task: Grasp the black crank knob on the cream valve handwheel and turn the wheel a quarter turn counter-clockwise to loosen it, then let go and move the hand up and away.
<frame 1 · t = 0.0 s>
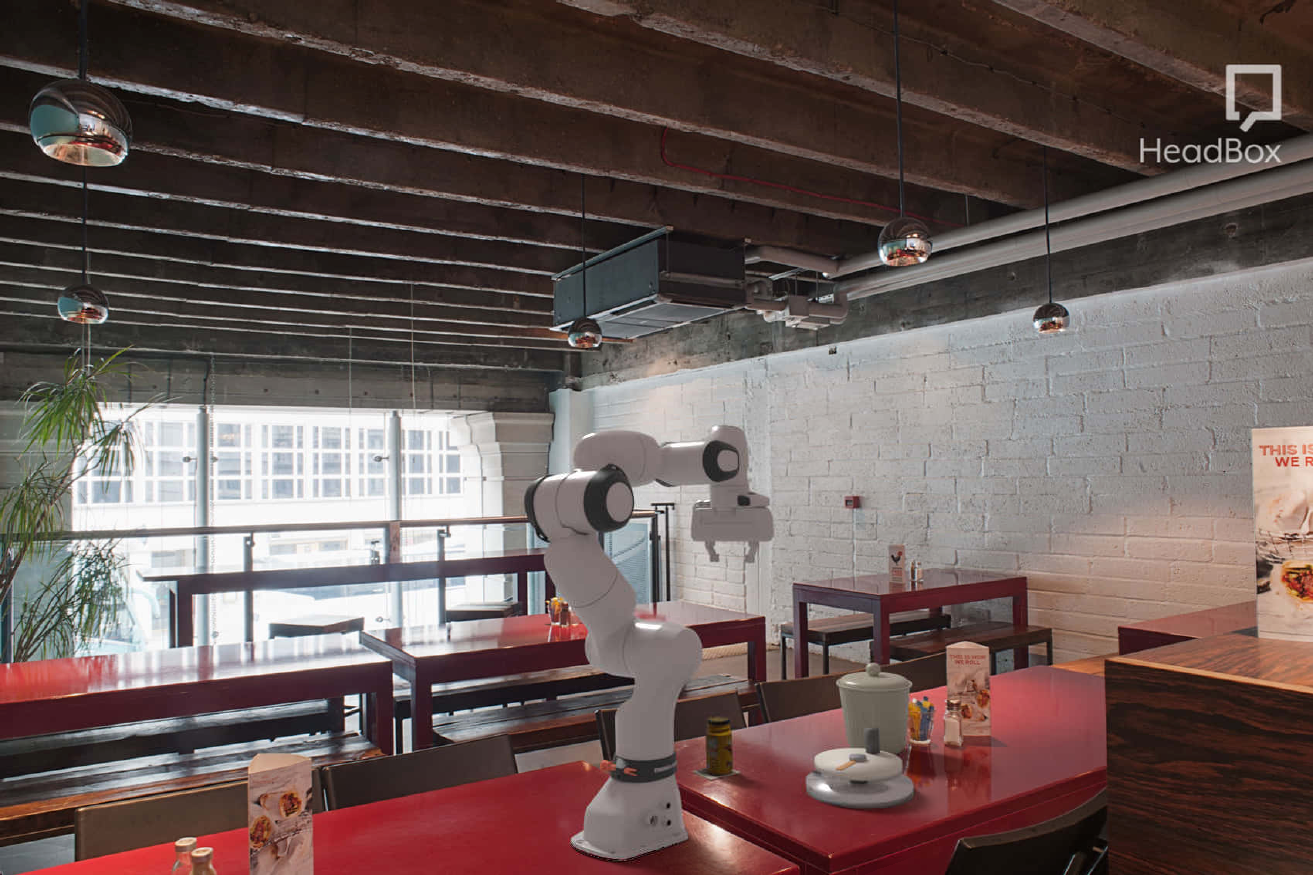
hand: (731, 562, 192), 48 cm above the table, tool pointing down, fingers open, 8 cm apart
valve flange: (859, 790, 184), on the table
condiment: (716, 773, 199), on the table
handwheel: (857, 751, 185), point 8 cm above the table, hinge at 0.0°
canister: (876, 752, 213), on the table
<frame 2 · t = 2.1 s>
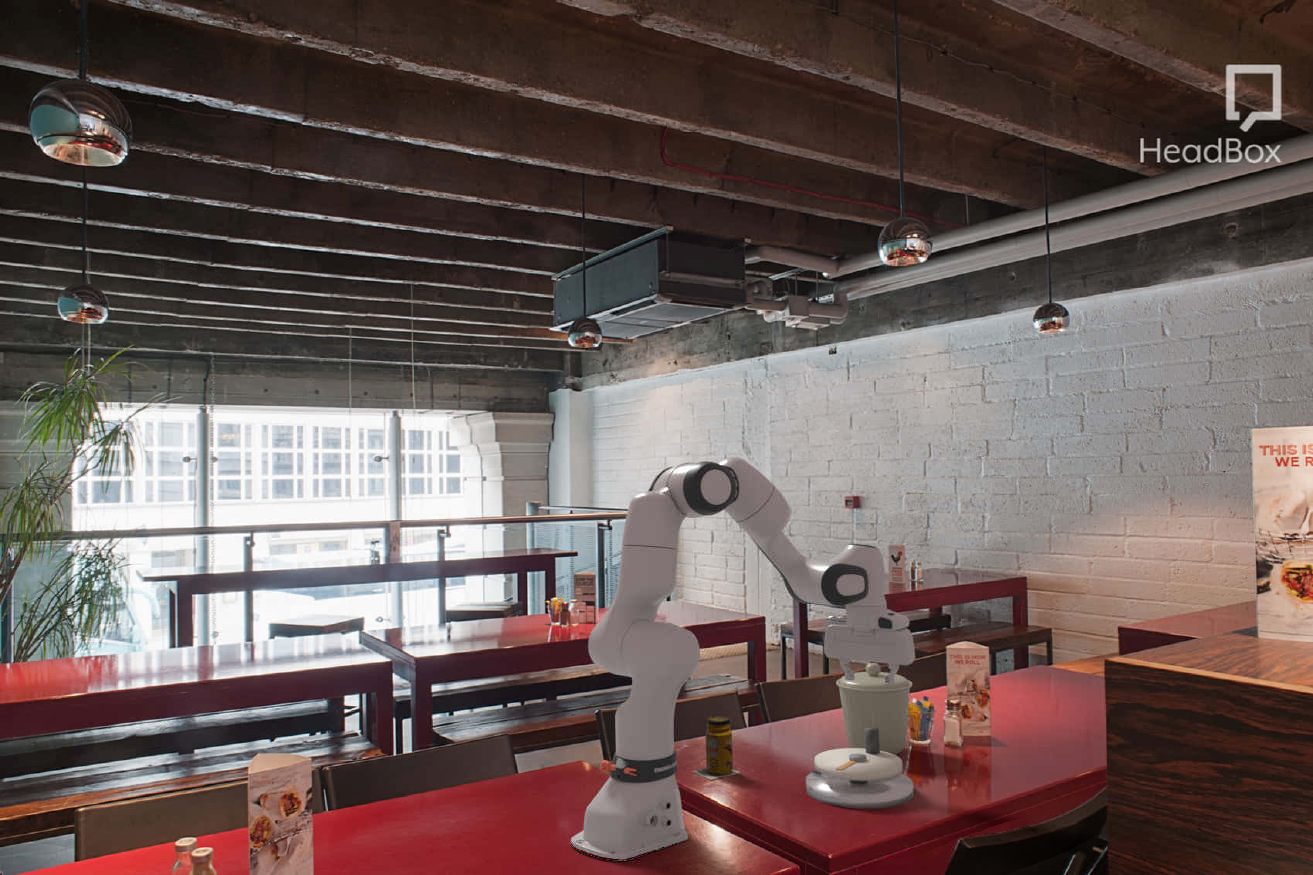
hand: (869, 681, 191), 21 cm above the table, tool pointing down, fingers open, 8 cm apart
nothing on the table moved.
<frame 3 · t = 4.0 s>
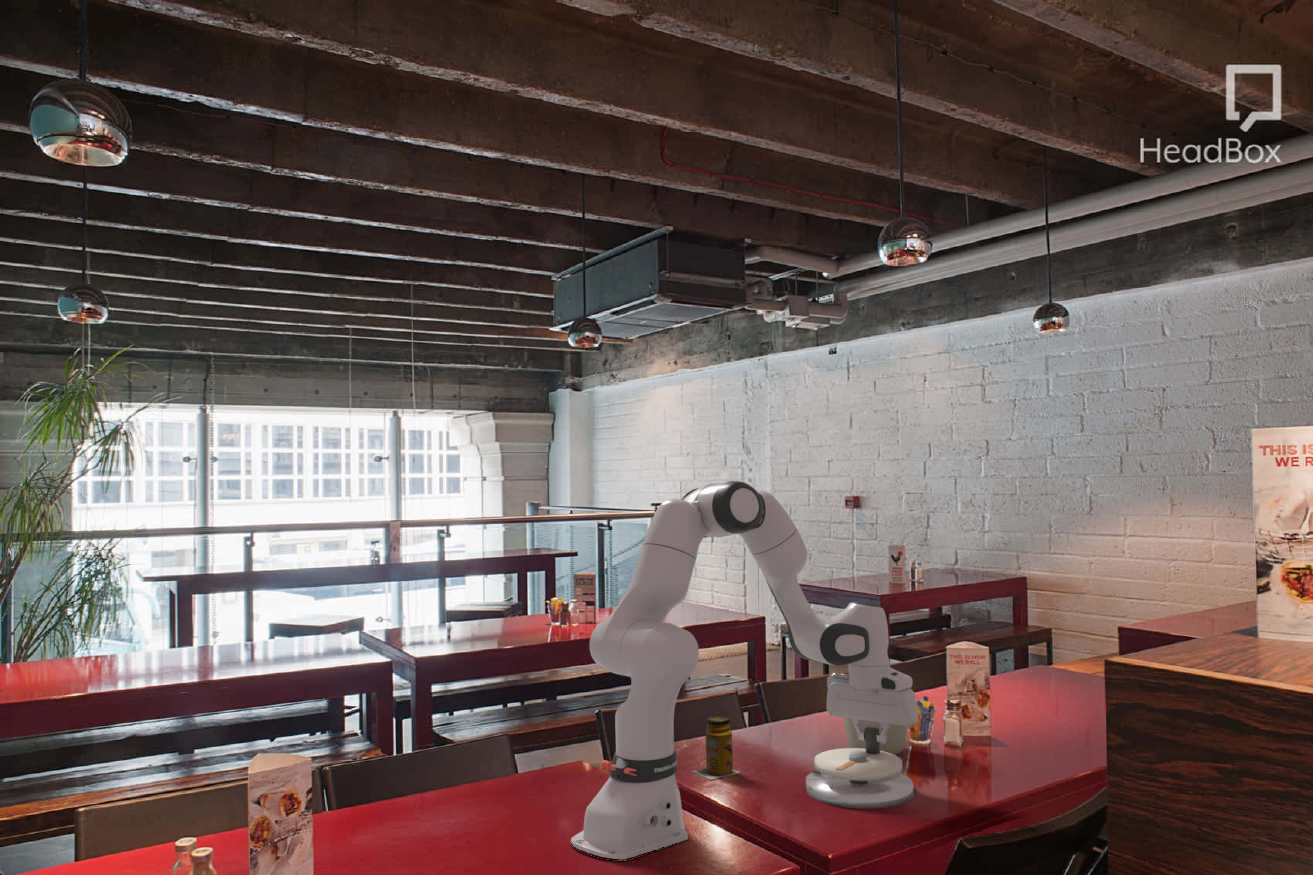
hand: (872, 741, 190), 9 cm above the table, tool pointing down, fingers closed on handwheel, 3 cm apart
handwheel: (857, 751, 185), point 8 cm above the table, hinge at 0.0°, touching gripper
everything else where it was.
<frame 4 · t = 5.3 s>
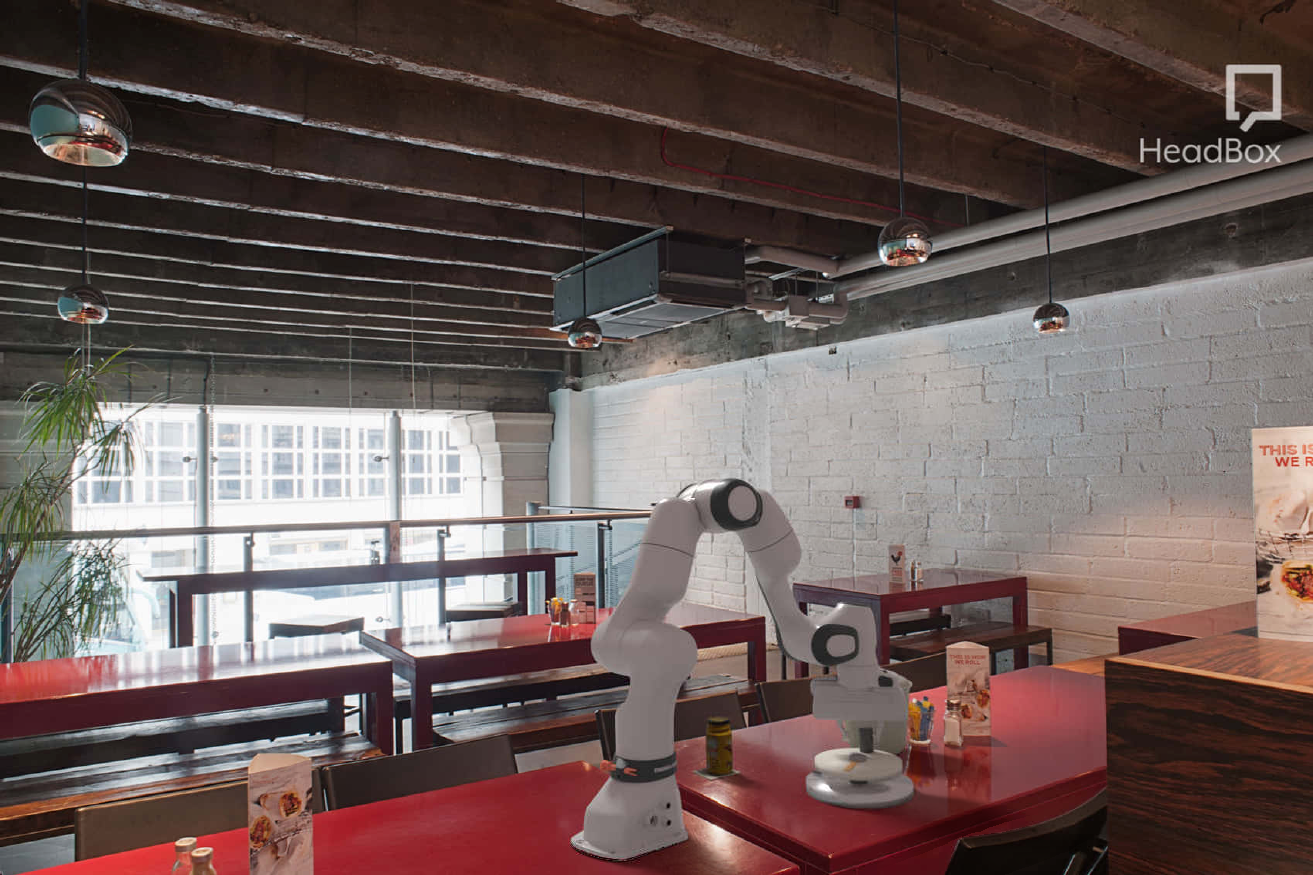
hand: (861, 740, 191), 9 cm above the table, tool pointing down, fingers open, 5 cm apart
handwheel: (857, 751, 185), point 8 cm above the table, hinge at 11.4°, touching gripper
everything else where it was.
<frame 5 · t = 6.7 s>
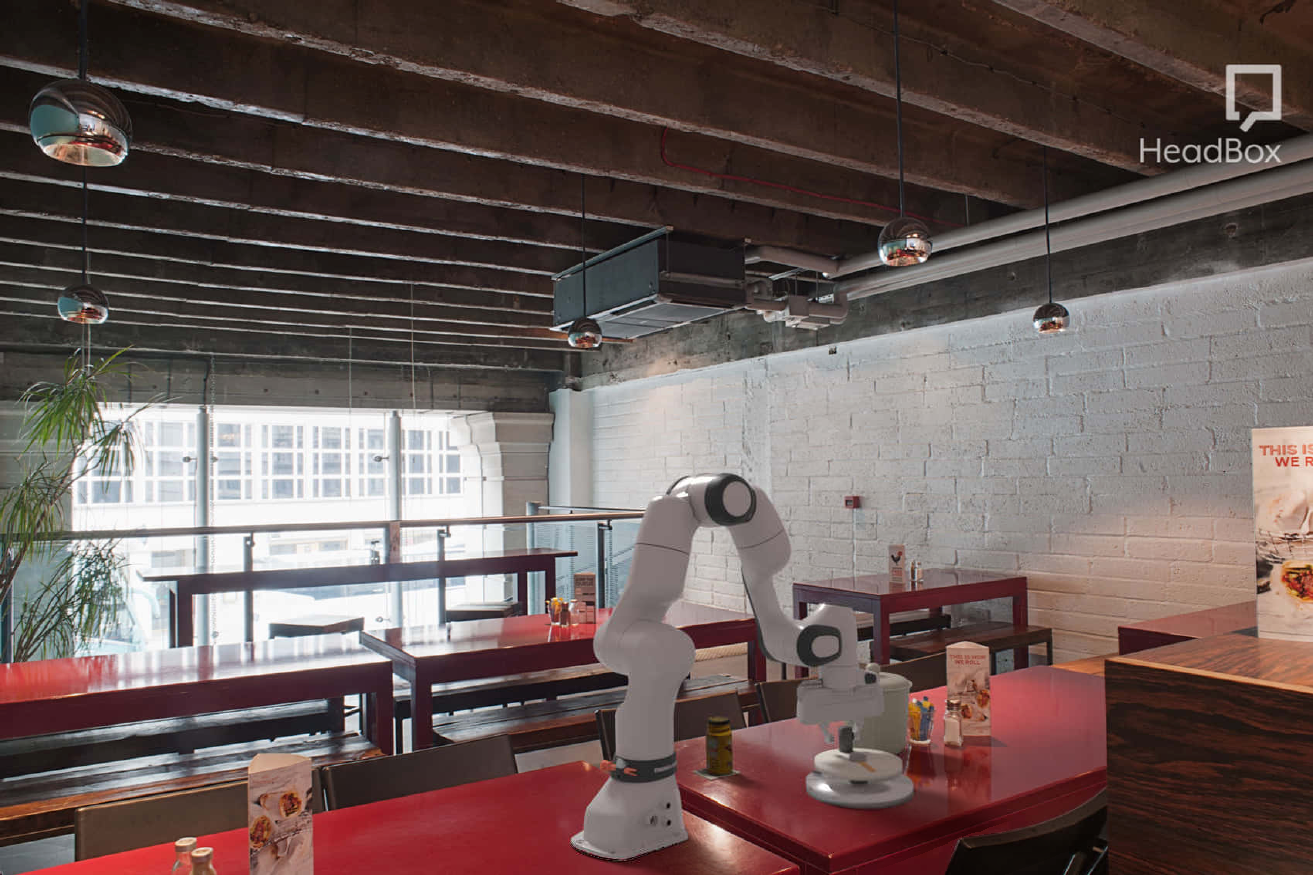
hand: (842, 740, 191), 9 cm above the table, tool pointing down, fingers open, 5 cm apart
handwheel: (857, 751, 185), point 8 cm above the table, hinge at 48.1°, touching gripper
everything else where it was.
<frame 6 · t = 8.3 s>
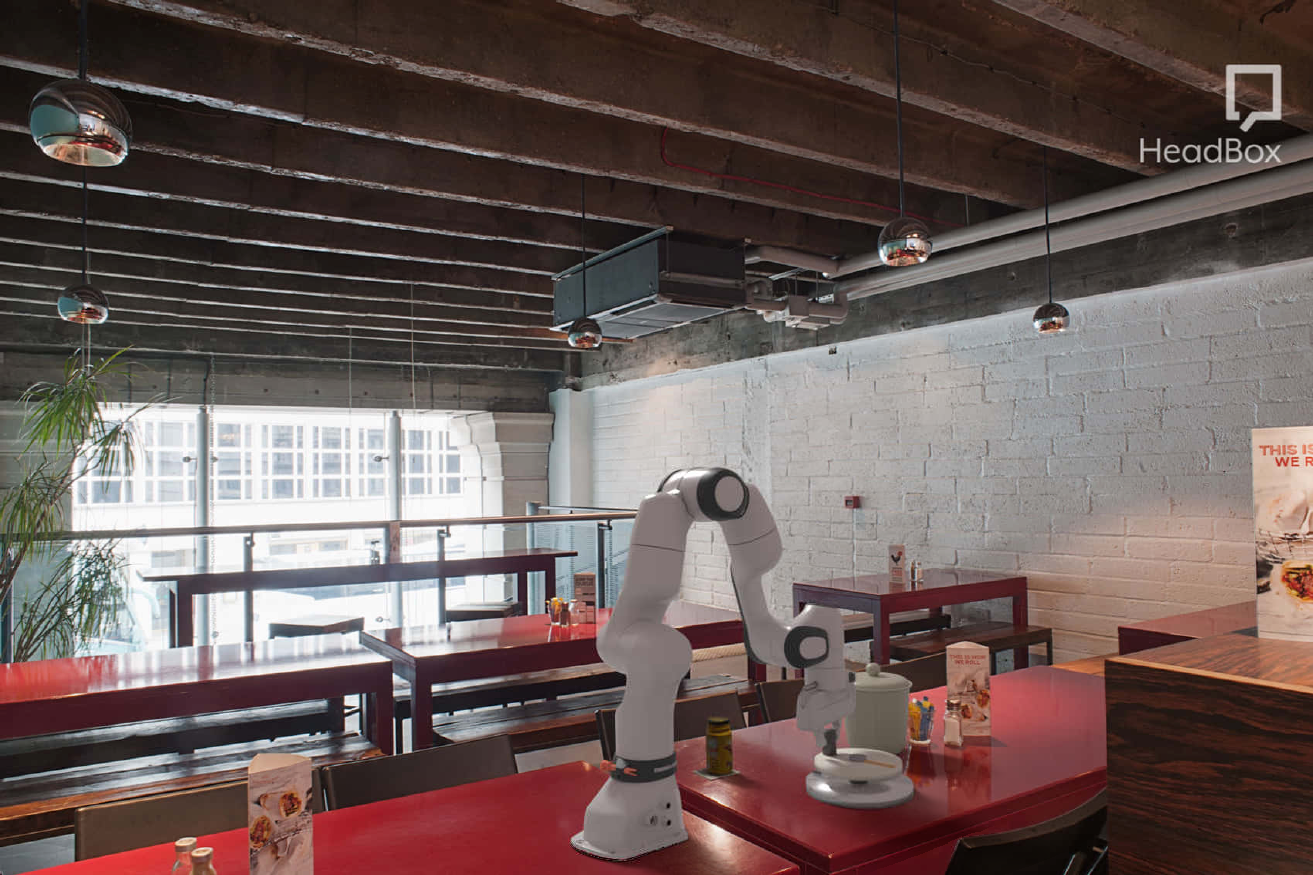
hand: (828, 743, 189), 9 cm above the table, tool pointing down, fingers open, 4 cm apart
handwheel: (857, 751, 185), point 8 cm above the table, hinge at 85.3°
everything else where it was.
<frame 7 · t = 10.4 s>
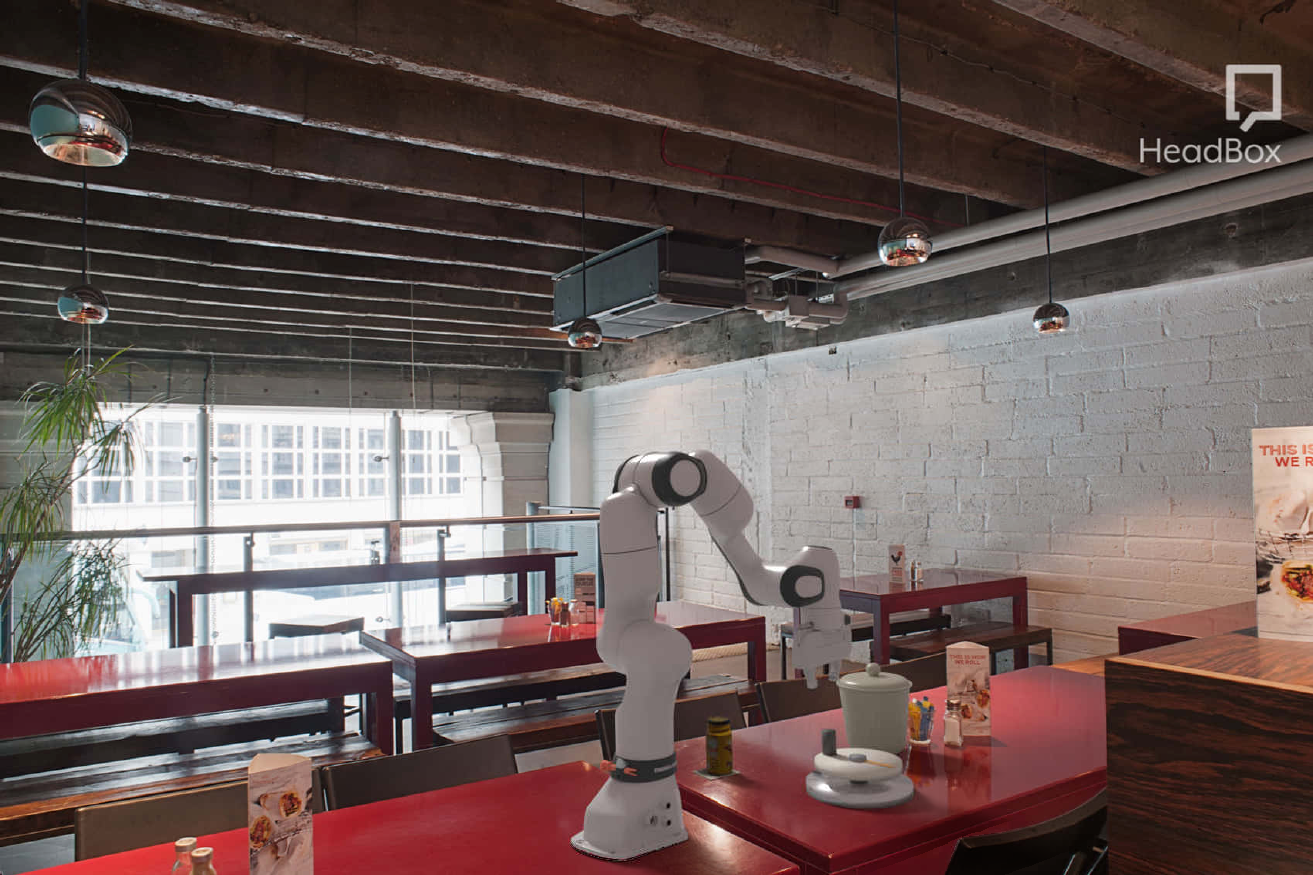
hand: (823, 684, 190), 21 cm above the table, tool pointing down, fingers open, 8 cm apart
nothing on the table moved.
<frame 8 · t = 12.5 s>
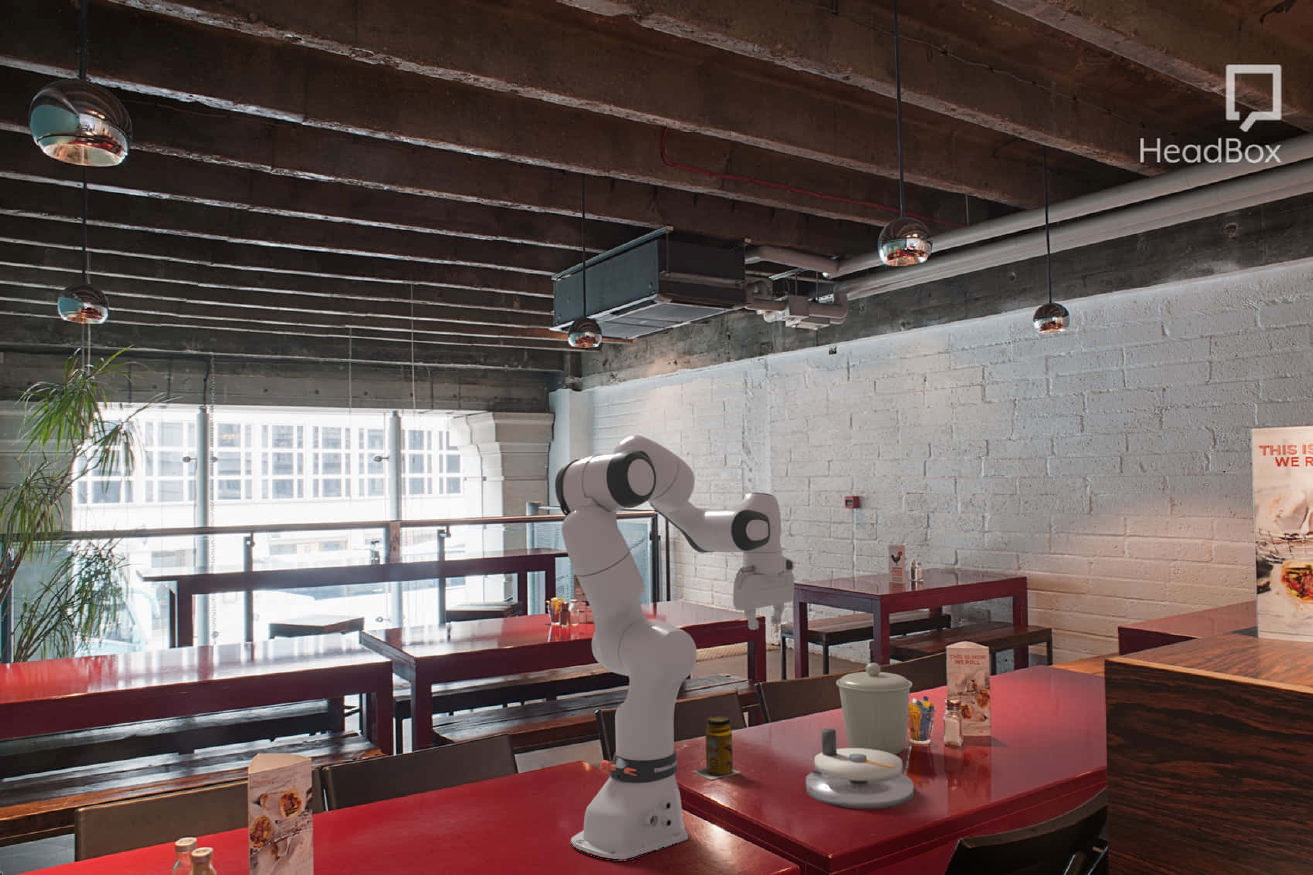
hand: (765, 626, 197), 33 cm above the table, tool pointing down, fingers open, 8 cm apart
nothing on the table moved.
at the end: handwheel at +85° (first picture: +0°); the gripper is holding nothing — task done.
